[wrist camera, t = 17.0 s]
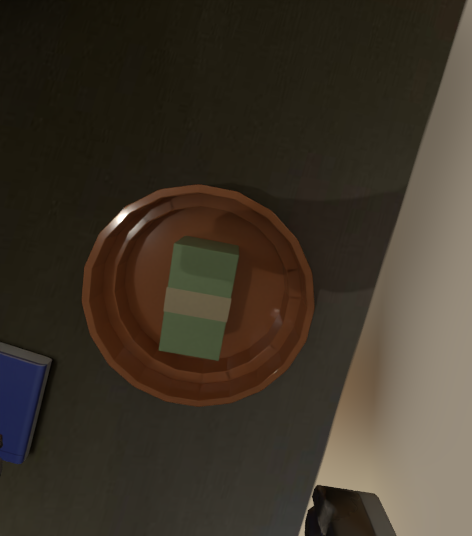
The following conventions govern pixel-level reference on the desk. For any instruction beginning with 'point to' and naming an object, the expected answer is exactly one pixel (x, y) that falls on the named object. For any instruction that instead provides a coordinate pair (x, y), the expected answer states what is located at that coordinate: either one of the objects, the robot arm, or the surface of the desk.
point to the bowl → (156, 281)
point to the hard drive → (20, 399)
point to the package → (198, 297)
